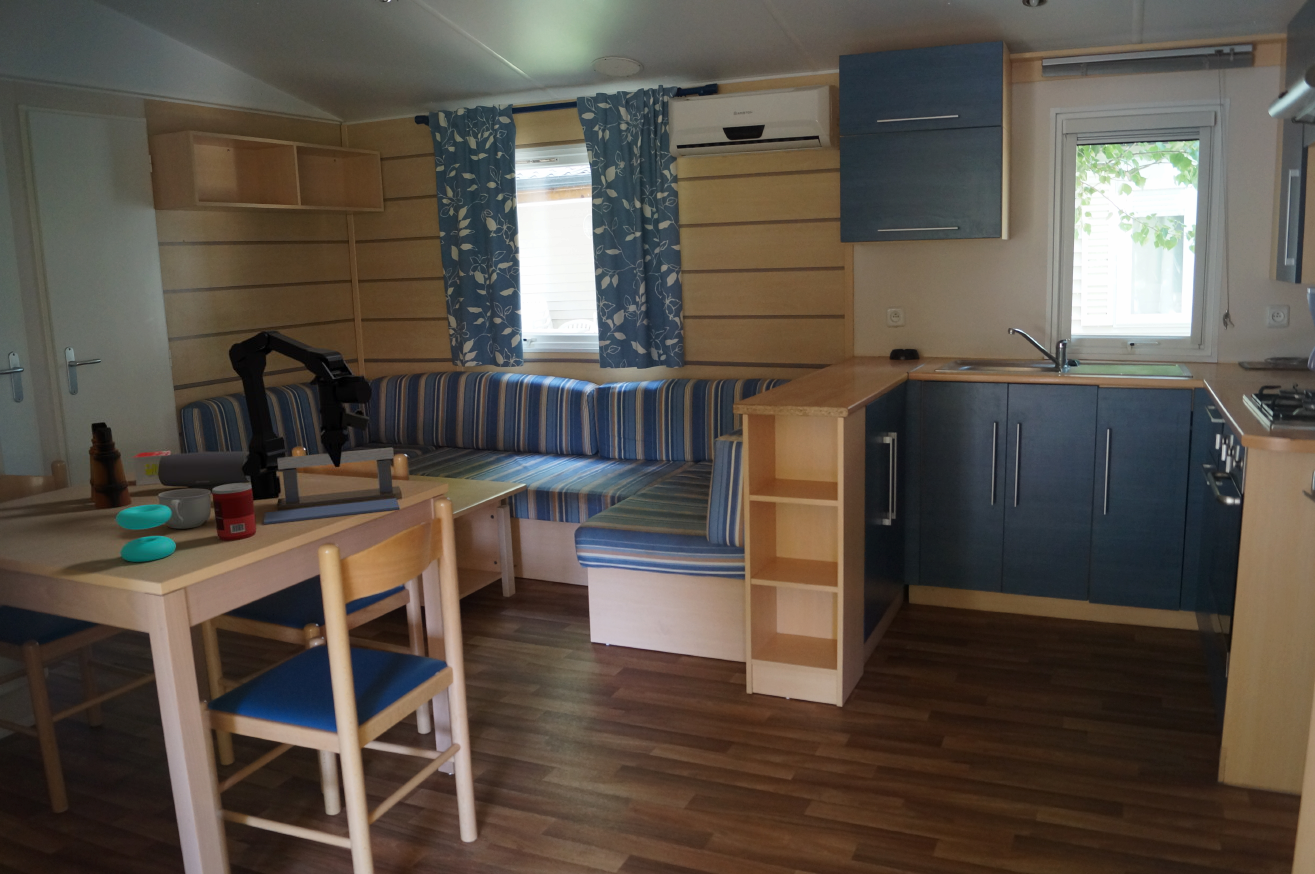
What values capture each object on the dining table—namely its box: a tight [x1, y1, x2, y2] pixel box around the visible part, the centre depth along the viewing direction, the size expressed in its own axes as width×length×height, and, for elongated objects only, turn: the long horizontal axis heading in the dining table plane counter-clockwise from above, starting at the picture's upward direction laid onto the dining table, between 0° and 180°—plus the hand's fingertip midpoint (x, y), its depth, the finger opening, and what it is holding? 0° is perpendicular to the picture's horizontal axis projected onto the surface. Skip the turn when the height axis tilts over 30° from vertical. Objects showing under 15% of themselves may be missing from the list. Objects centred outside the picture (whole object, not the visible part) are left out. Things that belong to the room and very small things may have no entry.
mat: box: [263, 498, 401, 525], centre depth 232 cm, size 30×10×1 cm, turn 109°
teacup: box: [157, 488, 212, 530], centre depth 222 cm, size 14×11×8 cm
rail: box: [277, 447, 395, 470], centre depth 241 cm, size 27×2×2 cm, turn 109°
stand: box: [276, 459, 403, 511], centre depth 242 cm, size 29×8×10 cm, turn 109°
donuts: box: [115, 503, 177, 563], centre depth 199 cm, size 10×10×10 cm
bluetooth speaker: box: [158, 450, 251, 490], centre depth 264 cm, size 23×9×10 cm, turn 92°
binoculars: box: [88, 421, 132, 510], centre depth 251 cm, size 18×8×20 cm, turn 35°
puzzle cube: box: [132, 450, 172, 486], centre depth 277 cm, size 8×8×8 cm
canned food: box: [211, 482, 257, 542], centre depth 212 cm, size 8×8×11 cm
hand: (337, 466), depth 241 cm, fingers closed on rail, 2 cm apart
